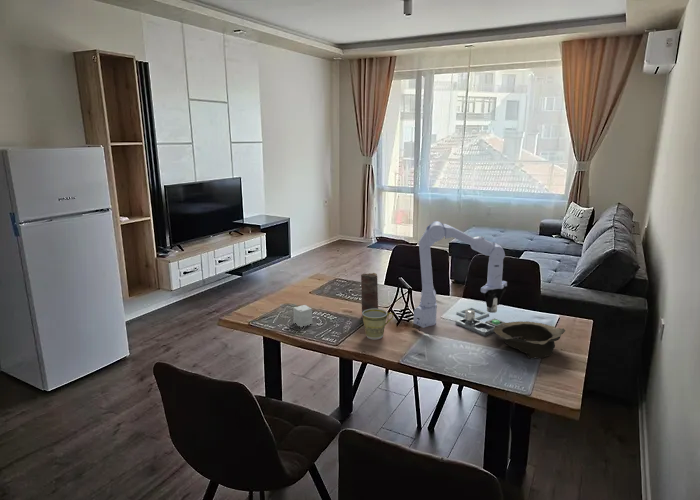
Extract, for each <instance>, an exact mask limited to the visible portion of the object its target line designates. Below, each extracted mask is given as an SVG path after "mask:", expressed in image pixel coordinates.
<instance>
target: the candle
mask: <svg viewBox="0 0 700 500" xmlns="http://www.w3.org/2000/svg"><path fill="white" fill-rule="evenodd" d="M360 278H361V279H360V283H361V284H360V285H361V286H360V287H361V289H360V290H361V313H362V312H363V311H364V310H367V309H379V292H378V287H379V286H378V274H377V273H375V272H373V273H361V274H360Z"/></svg>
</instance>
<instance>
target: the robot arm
mask: <svg viewBox="0 0 700 500" xmlns="http://www.w3.org/2000/svg"><path fill="white" fill-rule="evenodd" d="M443 238H445V239H446V240H447V239H450V238H453V239H456V240H458V241H461V242H463V243H465V244H467V245H470V248H471V249H472V250H473V251H475V252H478V253H480V254H482V255H484V256H489V257H488V264H487V277H486V278H487V281H486V283H485V285H483V286H482V287H480V292H481V293H482V294H483V296H484V299H485V304H486V308H487V307H489V308H492V306H493V300H494V297H495V296H496V297H498V299H497V306H499V305H500V303H501V300H502V297H503V296H504V293H506V291H507V290H506V288H505V287H508V281H506V280H503V273H504V271H503V269H504V259H505V258H506V254H505V250H504V248H503V247H502V246H501V244H499V243H496V242H495V241H489V240H487V239H485V236H482V235H481V236H474V237H473V236H472V235H469V234H468V233H466V232H464V231H462V230H460V229H458V228H456V227H454V226H452V225H449V224H447V223H443V222H441V221H439V220H438V221H437V220H436V221H435V220H434V221H432V222H431V223H430V224H429V225H427V227H426V228H425V230H424V232H423V233H422V235H421V237H420V239H419V241H418V248H419V250H418V251H419V260H420V261H419V263H420V274H421V275H420V276H421V289H422V290H421V291H420V295H421V296H420V301H419V305H418V306H417V307H415V308H414V309H413V324H414V325H416V326H418V327H421V328H427V327H431V326H434V325H437V311H438V310H437V307H438V306H437V305H438V303H437V298H436V296H437V292H436V289H435V287H434V283H433V282H434V281H433V267H432V256H431V255H432V254H431V253H432V252H431V247H432V246H433V245H434V244H435V243H437V242H439V241H441V240H442V239H443Z"/></svg>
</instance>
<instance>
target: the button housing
mask: <svg viewBox="0 0 700 500" xmlns="http://www.w3.org/2000/svg"><path fill="white" fill-rule="evenodd" d="M492 320H499V321H500V324H502V323H507V322H506V321H503V320H500V319H498V318H497V319H496V318H494V317H493V318H492V319H489V320H486V321H484V323H487V324H490V325H492V326H497V325H496V324H493V323H492ZM500 324H498V325H500Z"/></svg>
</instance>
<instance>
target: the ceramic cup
mask: <svg viewBox="0 0 700 500" xmlns="http://www.w3.org/2000/svg"><path fill="white" fill-rule="evenodd" d="M389 315H390V316H391V315H392V317H391V318H390V319H388V316H389ZM361 316H362V321H363V326H364V331H365V336H366V337H367V339H370V340H373V341H375V340H381V339H382V338H383V336H384V332H385V327H386V325H387V324H389V322H391V321H392V320H393V319H394V313H393V312H387V311H386V310H385V309H380V308H378V309H367V310H364V311H363V312H362V311H361ZM387 319H388V320H387Z"/></svg>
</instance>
